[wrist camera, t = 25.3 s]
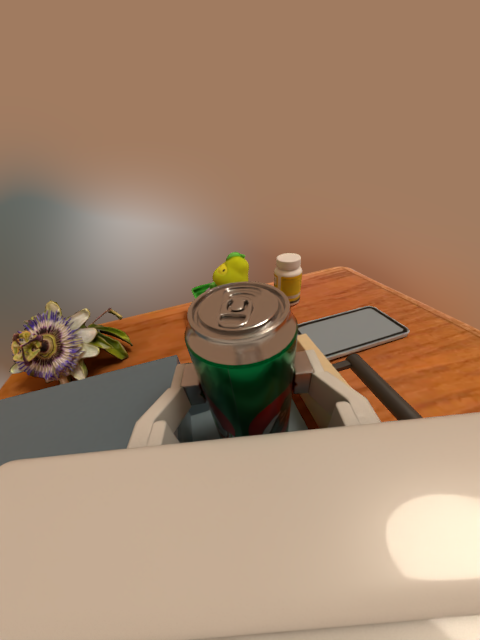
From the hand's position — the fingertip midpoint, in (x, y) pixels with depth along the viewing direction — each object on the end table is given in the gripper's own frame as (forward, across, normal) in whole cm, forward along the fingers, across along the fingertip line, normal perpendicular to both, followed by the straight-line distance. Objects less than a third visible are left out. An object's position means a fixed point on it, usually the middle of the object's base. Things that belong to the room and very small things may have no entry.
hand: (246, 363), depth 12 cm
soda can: (-1, 0, -7) cm, 7 cm away
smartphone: (+14, +15, -12) cm, 24 cm away
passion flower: (+14, -24, -12) cm, 30 cm away
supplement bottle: (+24, +9, -12) cm, 29 cm away
